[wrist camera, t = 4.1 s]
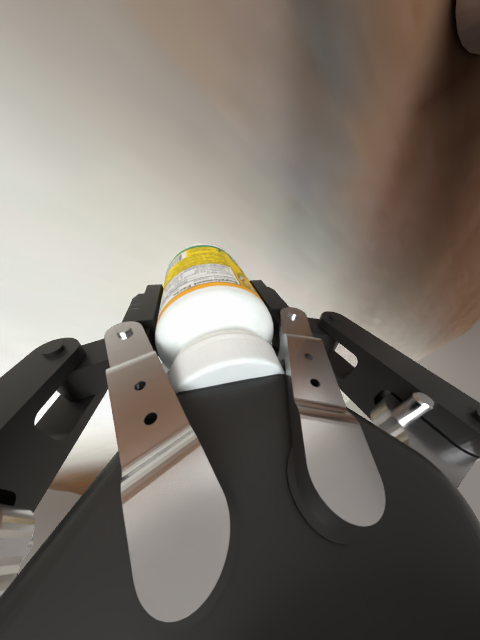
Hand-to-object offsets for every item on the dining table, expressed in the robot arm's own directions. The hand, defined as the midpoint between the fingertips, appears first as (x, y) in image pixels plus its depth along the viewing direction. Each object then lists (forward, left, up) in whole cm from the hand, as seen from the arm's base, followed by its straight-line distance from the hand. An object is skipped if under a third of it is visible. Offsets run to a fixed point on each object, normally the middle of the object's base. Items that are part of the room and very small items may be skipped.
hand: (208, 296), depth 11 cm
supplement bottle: (0, 0, -3) cm, 3 cm away
